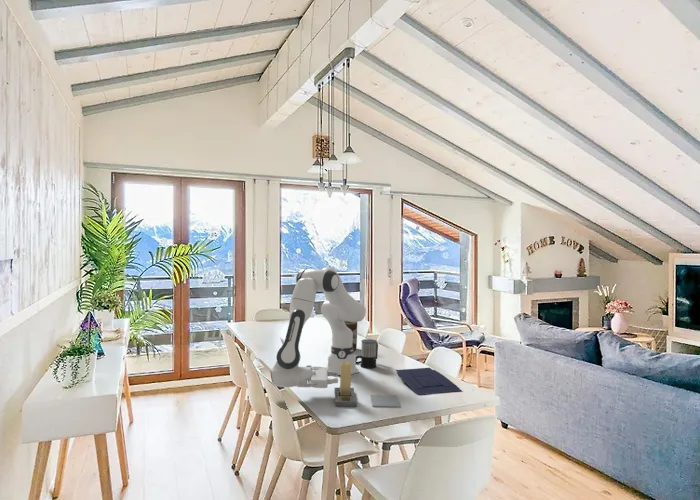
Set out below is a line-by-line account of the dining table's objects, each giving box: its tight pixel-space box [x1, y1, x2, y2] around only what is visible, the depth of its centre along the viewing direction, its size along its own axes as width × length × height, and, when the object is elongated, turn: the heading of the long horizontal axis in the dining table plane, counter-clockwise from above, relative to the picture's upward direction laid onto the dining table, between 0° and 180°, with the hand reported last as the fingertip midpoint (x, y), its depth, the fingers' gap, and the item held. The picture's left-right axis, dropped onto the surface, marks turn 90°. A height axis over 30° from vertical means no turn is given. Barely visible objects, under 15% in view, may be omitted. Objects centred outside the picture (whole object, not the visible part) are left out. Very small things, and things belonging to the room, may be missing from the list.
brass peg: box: [339, 362, 352, 396], centre depth 209 cm, size 4×4×16 cm
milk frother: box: [354, 338, 379, 369], centre depth 268 cm, size 14×16×15 cm
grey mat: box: [370, 394, 401, 408], centre depth 207 cm, size 14×12×1 cm
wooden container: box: [344, 321, 358, 352], centre depth 305 cm, size 15×15×22 cm
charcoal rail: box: [334, 387, 358, 408], centre depth 209 cm, size 20×9×2 cm, turn 3°
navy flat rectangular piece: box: [395, 367, 463, 396], centre depth 234 cm, size 24×30×4 cm
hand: (337, 377), depth 209 cm, fingers open, 8 cm apart
